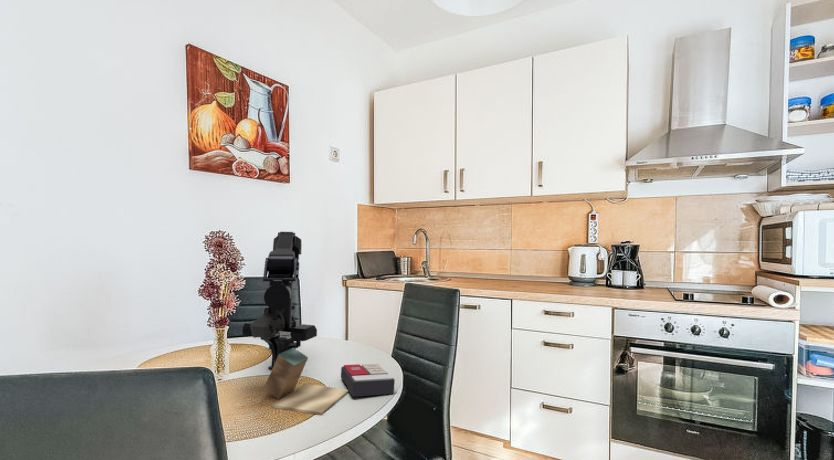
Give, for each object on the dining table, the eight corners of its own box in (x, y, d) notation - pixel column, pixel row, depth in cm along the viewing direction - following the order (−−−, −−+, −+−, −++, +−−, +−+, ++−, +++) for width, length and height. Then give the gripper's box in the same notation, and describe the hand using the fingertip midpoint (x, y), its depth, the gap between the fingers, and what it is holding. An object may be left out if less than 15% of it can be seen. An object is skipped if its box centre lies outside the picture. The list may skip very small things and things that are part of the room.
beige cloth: (272, 407, 90) (272, 404, 90) (305, 385, 104) (305, 383, 104) (321, 415, 86) (321, 412, 87) (349, 392, 100) (349, 389, 100)
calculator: (378, 362, 113) (395, 376, 100) (377, 377, 113) (394, 393, 99) (341, 363, 109) (353, 378, 95) (340, 379, 109) (352, 396, 95)
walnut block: (263, 389, 96) (278, 354, 95) (278, 380, 101) (293, 347, 100) (278, 400, 94) (294, 364, 93) (293, 391, 100) (308, 357, 99)
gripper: (226, 304, 93) (224, 369, 93) (293, 310, 88) (291, 379, 88) (257, 298, 104) (255, 356, 104) (318, 303, 99) (317, 364, 98)
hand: (278, 364), depth 98 cm, fingers closed
